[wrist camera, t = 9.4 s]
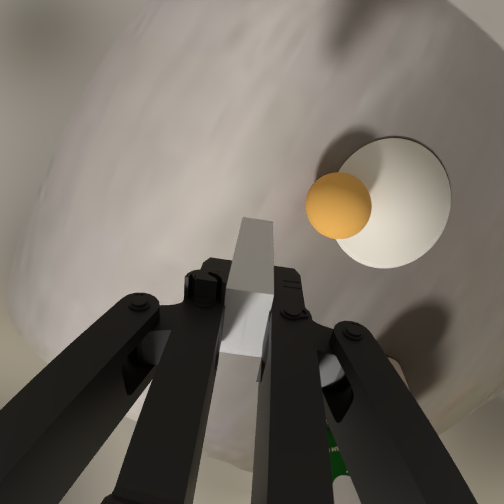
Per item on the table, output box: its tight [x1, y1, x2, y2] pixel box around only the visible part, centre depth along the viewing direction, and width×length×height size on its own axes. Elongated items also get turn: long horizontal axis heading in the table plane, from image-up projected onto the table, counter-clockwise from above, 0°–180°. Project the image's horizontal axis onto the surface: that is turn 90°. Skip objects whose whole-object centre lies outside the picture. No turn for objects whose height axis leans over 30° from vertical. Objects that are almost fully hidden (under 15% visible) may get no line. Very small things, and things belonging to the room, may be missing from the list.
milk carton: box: [327, 429, 361, 504], centre depth 36 cm, size 9×9×20 cm
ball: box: [306, 172, 372, 239], centre depth 26 cm, size 6×6×6 cm
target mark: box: [336, 138, 451, 268], centre depth 28 cm, size 13×13×1 cm
